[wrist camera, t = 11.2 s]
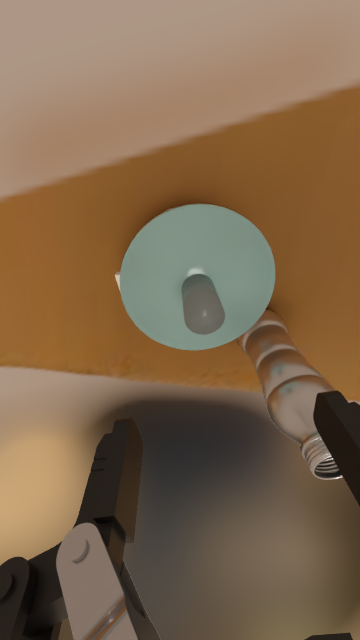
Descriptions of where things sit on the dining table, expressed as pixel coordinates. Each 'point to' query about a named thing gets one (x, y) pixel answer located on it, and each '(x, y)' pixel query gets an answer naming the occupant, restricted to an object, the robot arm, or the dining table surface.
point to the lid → (197, 277)
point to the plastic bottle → (289, 389)
